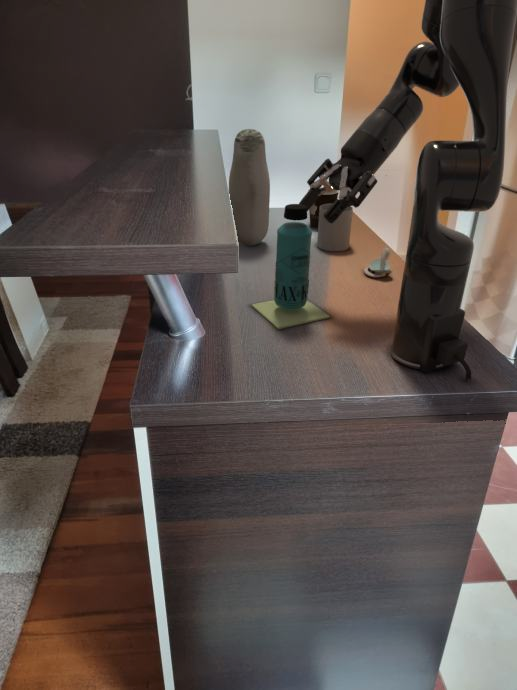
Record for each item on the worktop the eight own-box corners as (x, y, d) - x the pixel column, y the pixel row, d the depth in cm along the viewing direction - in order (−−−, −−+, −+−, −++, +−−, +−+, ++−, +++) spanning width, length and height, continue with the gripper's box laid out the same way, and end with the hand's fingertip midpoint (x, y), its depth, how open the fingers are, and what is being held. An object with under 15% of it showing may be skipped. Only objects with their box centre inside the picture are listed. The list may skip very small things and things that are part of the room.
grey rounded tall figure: (224, 240, 137) (222, 127, 124) (259, 236, 141) (260, 126, 127) (238, 251, 130) (236, 132, 116) (274, 247, 133) (277, 130, 119)
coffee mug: (302, 222, 154) (304, 187, 149) (330, 220, 155) (333, 187, 150) (313, 233, 144) (315, 197, 139) (343, 232, 145) (346, 196, 140)
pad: (329, 317, 97) (329, 315, 97) (278, 329, 93) (278, 327, 92) (299, 296, 105) (299, 294, 105) (251, 306, 101) (251, 304, 101)
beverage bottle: (266, 308, 99) (268, 204, 89) (291, 299, 103) (296, 198, 93) (289, 320, 95) (294, 212, 85) (314, 310, 99) (322, 206, 89)
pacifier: (365, 280, 114) (393, 280, 114) (368, 253, 111) (396, 252, 111) (362, 268, 120) (388, 268, 120) (364, 242, 117) (390, 242, 117)
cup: (348, 252, 130) (352, 212, 125) (316, 250, 131) (318, 211, 126) (348, 242, 137) (352, 204, 132) (318, 240, 138) (320, 202, 133)
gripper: (338, 123, 95) (282, 192, 96) (388, 132, 84) (324, 210, 85) (359, 151, 100) (305, 217, 101) (408, 164, 89) (347, 237, 90)
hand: (314, 214), depth 93 cm, fingers open, 8 cm apart
